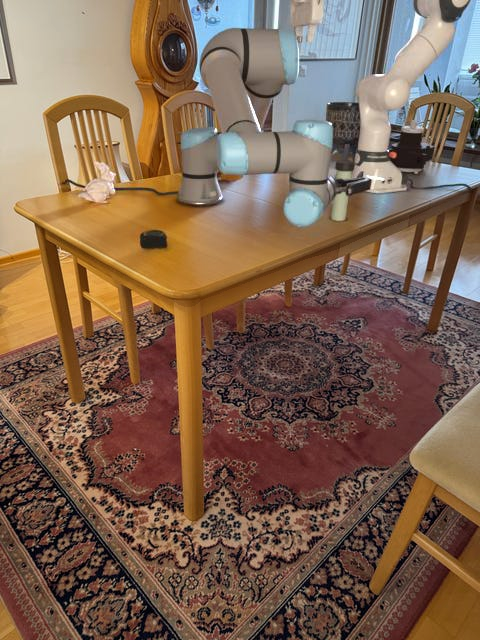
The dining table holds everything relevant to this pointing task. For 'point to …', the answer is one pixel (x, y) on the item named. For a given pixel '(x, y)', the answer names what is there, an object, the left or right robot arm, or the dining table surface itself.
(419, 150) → the mechanical component
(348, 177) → the pale green cylinder
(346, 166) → the lid
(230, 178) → the toy
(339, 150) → the rock
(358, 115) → the planter
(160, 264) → the dining table surface
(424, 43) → the right robot arm
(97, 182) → the figurine
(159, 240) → the tape measure
